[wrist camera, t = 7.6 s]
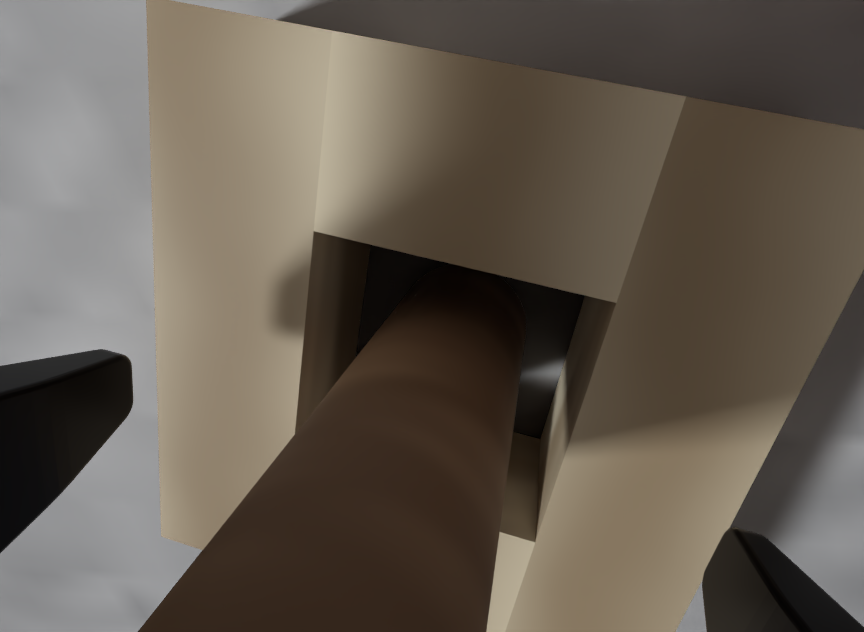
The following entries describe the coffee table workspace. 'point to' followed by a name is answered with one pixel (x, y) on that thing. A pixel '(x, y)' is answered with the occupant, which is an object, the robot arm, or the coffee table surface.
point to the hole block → (502, 255)
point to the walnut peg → (379, 484)
